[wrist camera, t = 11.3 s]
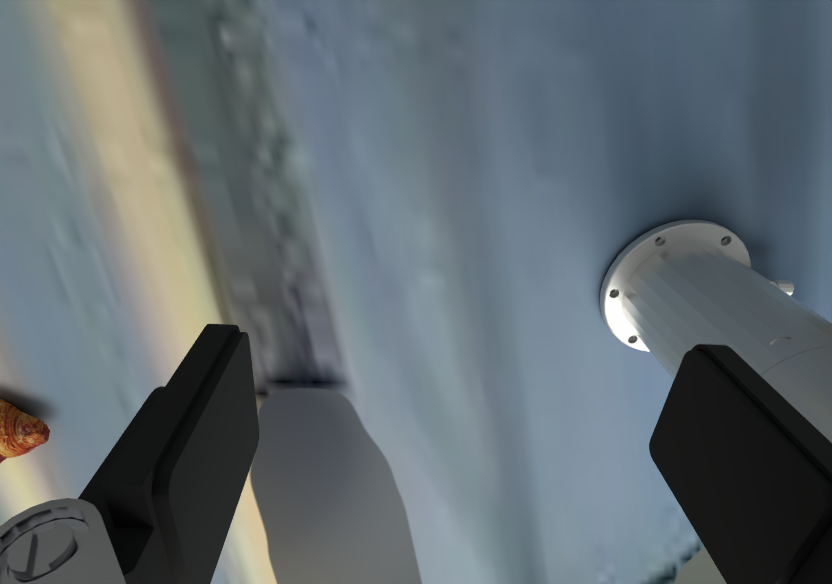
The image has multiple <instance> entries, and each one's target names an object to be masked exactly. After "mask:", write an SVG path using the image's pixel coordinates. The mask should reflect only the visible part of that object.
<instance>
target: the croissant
mask: <svg viewBox="0 0 832 584" xmlns="http://www.w3.org/2000/svg"><path fill="white" fill-rule="evenodd" d="M49 433H50V430H49V429H48V427H47V425H46V424H44V422H43V421H41V420H39V419H37V418H35V417H32V416H29V415H28V414H26V413H24V412H20V411H19V410H18V409H17V408H16V407H14V406H13V405H12V404H10V403H7V402H6V401H4V400H1V399H0V463H1V462H2V461H4V460H5V459H6V458H11V457H16V456H20V455H23V454H26V453H28V452H30V451H31V450H32V449H33V448H35V447H37V446H39V445H40V444H43V443H46V442H47V441H48V438H49Z"/></svg>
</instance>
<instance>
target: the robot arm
mask: <svg viewBox="0 0 832 584" xmlns="http://www.w3.org/2000/svg"><path fill="white" fill-rule="evenodd" d="M793 290H794V287H793V283H792V282H791V281H789V280H771V281H770V280H768V279H767V278H765V277H764V276H762V275H761V274H759V273H758V272H756V271H754V270H753V269H751V261H750V256H749V252H748V251H747V249H746V247H745V245H744V243H743V242H742V241H741V240H740V239H739V238H738V237H737V236H736V234H734V233H733V232H731V231H729V230H728V229H726V228H725V227H723V226H720V225H718V224H716V223H714V222H710V221H705V220H700V219H695V220H680V221H675V222H670V223H667V224H664V225H661V226H659V227H656V228H654V229H652V230H650V231H648V232H646V233H645V234H643V235H641V236H640V237H638V238H637V239H636V240H634V241H633V242H632V243H630V244H629V245H628V246H627V247H626V248H625V249H624V250H623V251H622V252H621V253H620V254H619V255H618V257H617V258H616V259H615V261H614V262H613V264H612V265H611V266H610V268H609V270H608V272H607V274H606V276H605V278H604V281H603V284H602V288H601V291H600V309H601V315H602V317H603V319H604V322H605V324H606V325H607V327H608V328H609V330H610V331H611V332H612V334H613V335H614V336H615V337H616V338H617V339H618V340H619V341H621V342H622V343H624V344H625V345H627V346H629V347H632V348H634V349H637V350H641V351H647V352H651V353H652V354H653V355H654V356H655V358H656V359H657V360H658V361H659V363H660V364H661V365H662V366H663V368H664V369H665V370H666V371H667V372H668V374H669V375H670V376H671V377H672V379H673V380H674V382H673V384H672V387H671V389H670V392H669V394H668V397H667V399H666V402H665V404H664V407H663V409H662V412H661V414H660V417H659V419H658V422H657V424H656V427H655V429H654V432H653V434H652V437H651V440H650V443H649V449H650V454H651V457H652V459H653V461H654V463H655V464H656V466H657V468H658V469H659V471H660V473H661V474H662V476H663V478H664V479H665V481H666V483H667V484H668V486H669V488H670V489H671V491H672V493H673V494H674V496H675V498H676V499H677V501H678V503H679V504H680V506H681V508H682V509H683V511H684V513H685V514H686V516H687V518H688V519H689V521H690V523H691V524H692V526H693V528H694V529H695V531H696V533H697V534H698V536H699V538H700V539H701V541H702V543H703V544H704V546H705V548H706V549H707V551H708V553H709V554H710V556H711V558H712V559H713V561H714V563H715V565H716V566H717V568H718V570H719V571H720V573H721V575H722V576H723V578H724V580H725V581H726V583H727V584H832V323H830V322H829V321H827V320H826V319H824V318H823V317H821V316H820V315H818V314H817V313H815V312H814V311H812V310H811V309H809V308H808V307H806V306H805V305H803V304H802V303H800V302H799V301H797V300H796V299H794V298H793V297H791V296H790V295H791V294H792V293H793ZM258 441H259V424H258V415H257V406H256V397H255V388H254V379H253V370H252V361H251V352H250V343H249V336H248V334H247V333H246V332H240V330H239V327H238V326H237V325H224V324H207V325H206V326H205V328H204V329H203V331H202V332H201V334H200V335H199V337H198V338H197V340H196V341H195V343H194V344H193V346H192V347H191V349H190V350H189V352H188V353H187V355H186V356H185V358H184V359H183V361H182V362H181V364H180V365H179V367H178V368H177V370H176V371H175V373H174V374H173V376H172V377H171V379H170V380H169V382H168V383H167V385H166V386H165V387H158V388H156V389H155V390H154V391H153V392H152V393H151V394H150V395H149V397H148V398H147V400H146V401H145V403H144V404H143V405H142V407H141V408H140V410H139V411H138V413H137V414H136V416H135V417H134V418H133V420H132V421H131V423H130V424H129V426H128V427H127V429H126V430H125V431H124V433H123V434H122V436H121V437H120V439H119V440H118V441H117V443H116V444H115V446H114V447H113V449H112V450H111V452H110V453H109V454H108V456H107V457H106V459H105V460H104V462H103V463H102V465H101V466H100V467H99V469H98V470H97V472H96V473H95V475H94V476H93V478H92V479H91V480H90V482H89V483H88V485H87V486H86V488H85V489H84V491H83V492H82V493H81V495H80V496H79V498H78V499H72V498H65V499H58V500H51V501H48V502H45V503H42V504H39V505H36V506H33V507H31V508H29V509H27V510H25V511H23V512H21V513H19V514H17V515H16V516H14V517H12V518H11V519H9V520H8V521H7V522H5V523H4V524H3V525H1V526H0V584H210V583H211V580H212V577H213V574H214V571H215V568H216V565H217V563H218V560H219V557H220V554H221V551H222V548H223V545H224V542H225V539H226V536H227V533H228V531H229V528H230V525H231V522H232V519H233V516H234V513H235V510H236V507H237V504H238V502H239V499H240V496H241V493H242V490H243V487H244V484H245V481H246V478H247V475H248V472H249V470H250V467H251V464H252V461H253V458H254V455H255V452H256V449H257V446H258Z"/></svg>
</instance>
